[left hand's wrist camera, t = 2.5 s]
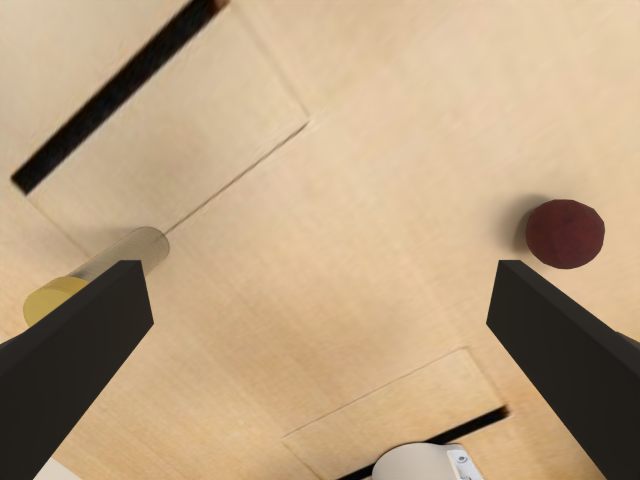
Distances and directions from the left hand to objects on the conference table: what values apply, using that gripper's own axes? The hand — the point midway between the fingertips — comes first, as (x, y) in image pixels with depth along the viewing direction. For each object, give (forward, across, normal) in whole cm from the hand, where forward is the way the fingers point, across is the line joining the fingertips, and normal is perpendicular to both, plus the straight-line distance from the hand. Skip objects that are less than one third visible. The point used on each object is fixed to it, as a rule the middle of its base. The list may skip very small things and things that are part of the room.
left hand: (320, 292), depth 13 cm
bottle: (+28, -21, -9) cm, 36 cm away
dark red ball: (+28, +27, -6) cm, 39 cm away
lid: (+12, -21, -9) cm, 26 cm away
